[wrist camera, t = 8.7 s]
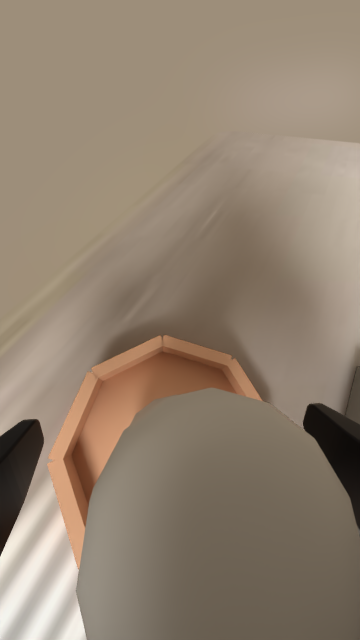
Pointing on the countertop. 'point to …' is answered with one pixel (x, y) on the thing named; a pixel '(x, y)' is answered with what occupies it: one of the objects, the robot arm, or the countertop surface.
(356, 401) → the charcoal tray
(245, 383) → the terracotta dish
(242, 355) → the countertop surface
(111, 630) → the salt shaker
